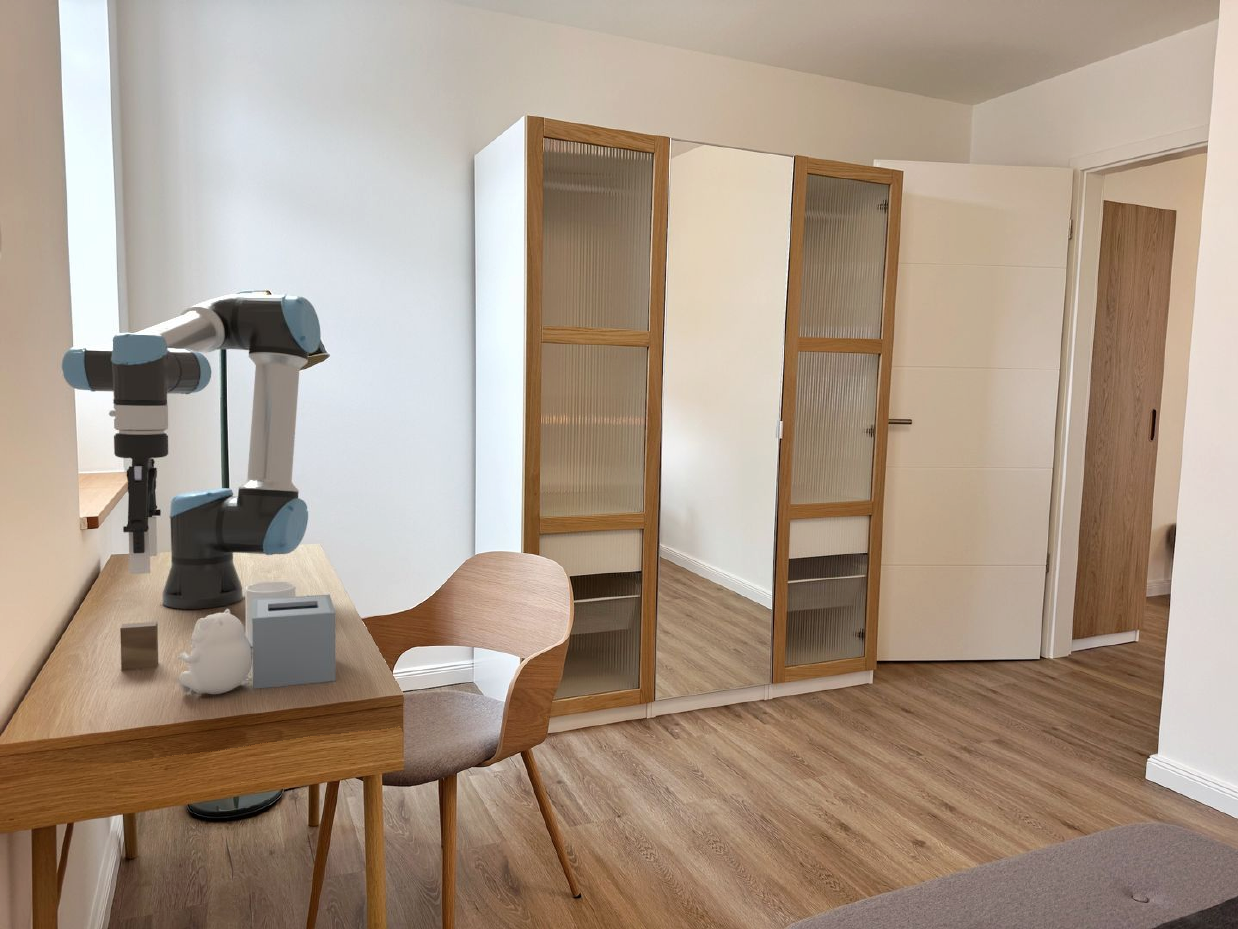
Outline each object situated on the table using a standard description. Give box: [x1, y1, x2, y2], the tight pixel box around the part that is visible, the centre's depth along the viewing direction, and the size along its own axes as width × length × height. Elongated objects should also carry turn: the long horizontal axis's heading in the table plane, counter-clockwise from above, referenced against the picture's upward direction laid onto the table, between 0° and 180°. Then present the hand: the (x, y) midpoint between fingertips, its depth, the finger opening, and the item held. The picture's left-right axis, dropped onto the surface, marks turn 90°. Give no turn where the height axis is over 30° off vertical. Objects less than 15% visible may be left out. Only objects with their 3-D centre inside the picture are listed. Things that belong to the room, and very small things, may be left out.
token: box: [119, 621, 159, 672], centre depth 141 cm, size 2×5×7 cm, turn 112°
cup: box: [244, 580, 296, 648], centre depth 157 cm, size 8×12×10 cm
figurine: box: [177, 608, 253, 695], centre depth 131 cm, size 10×10×12 cm
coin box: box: [252, 594, 336, 690], centre depth 140 cm, size 12×12×11 cm
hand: (144, 564), depth 139 cm, fingers open, 13 cm apart
